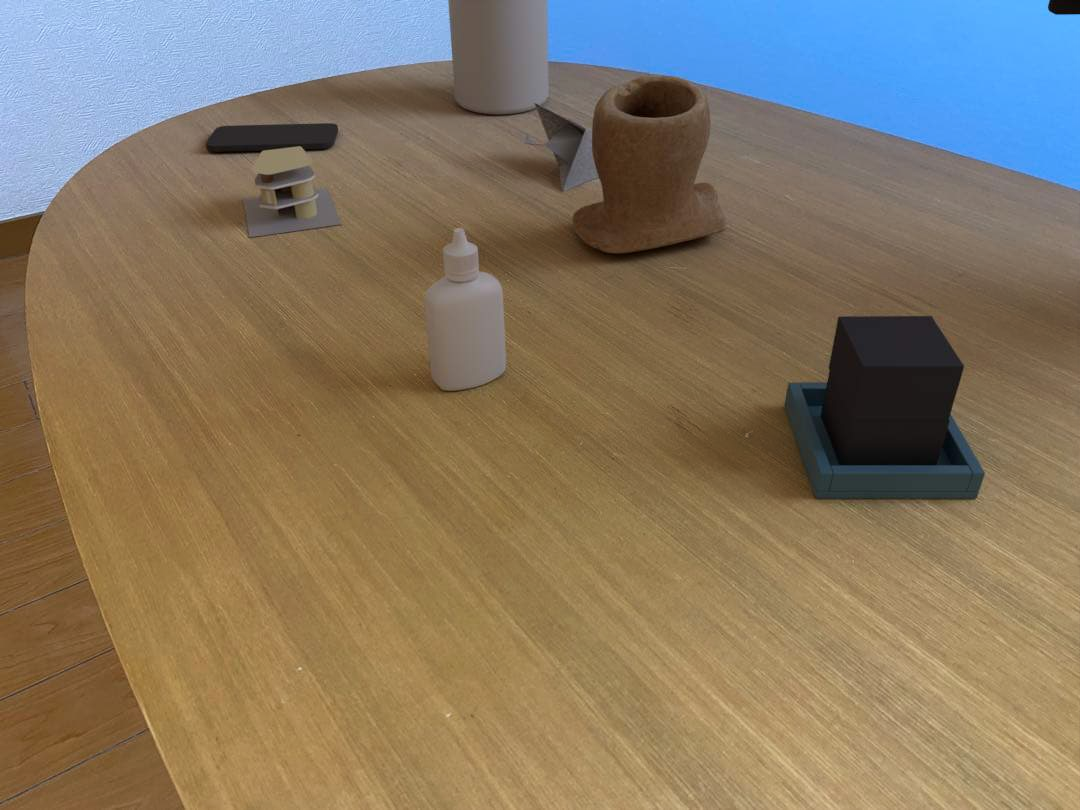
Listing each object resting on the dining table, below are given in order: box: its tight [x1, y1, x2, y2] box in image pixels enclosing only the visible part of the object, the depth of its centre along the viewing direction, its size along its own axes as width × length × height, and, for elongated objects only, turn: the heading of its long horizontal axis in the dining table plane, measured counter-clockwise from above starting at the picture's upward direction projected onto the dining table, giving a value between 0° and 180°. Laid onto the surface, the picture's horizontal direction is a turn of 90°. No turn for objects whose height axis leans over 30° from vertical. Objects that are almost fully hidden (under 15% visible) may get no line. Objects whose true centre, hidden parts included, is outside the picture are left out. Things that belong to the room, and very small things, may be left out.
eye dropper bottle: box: [423, 227, 507, 392], centre depth 68 cm, size 4×6×12 cm
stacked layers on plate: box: [242, 146, 342, 238], centre depth 95 cm, size 10×9×6 cm
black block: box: [828, 315, 965, 420], centre depth 59 cm, size 6×6×4 cm
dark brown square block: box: [821, 369, 950, 465], centre depth 62 cm, size 6×6×4 cm
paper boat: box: [523, 103, 599, 193], centre depth 103 cm, size 12×6×9 cm
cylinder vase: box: [447, 0, 549, 115], centre depth 119 cm, size 12×12×25 cm
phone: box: [205, 122, 339, 153], centre depth 114 cm, size 7×1×15 cm
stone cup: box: [571, 74, 727, 254], centre depth 86 cm, size 15×12×15 cm
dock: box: [783, 381, 986, 500], centre depth 62 cm, size 10×10×2 cm
